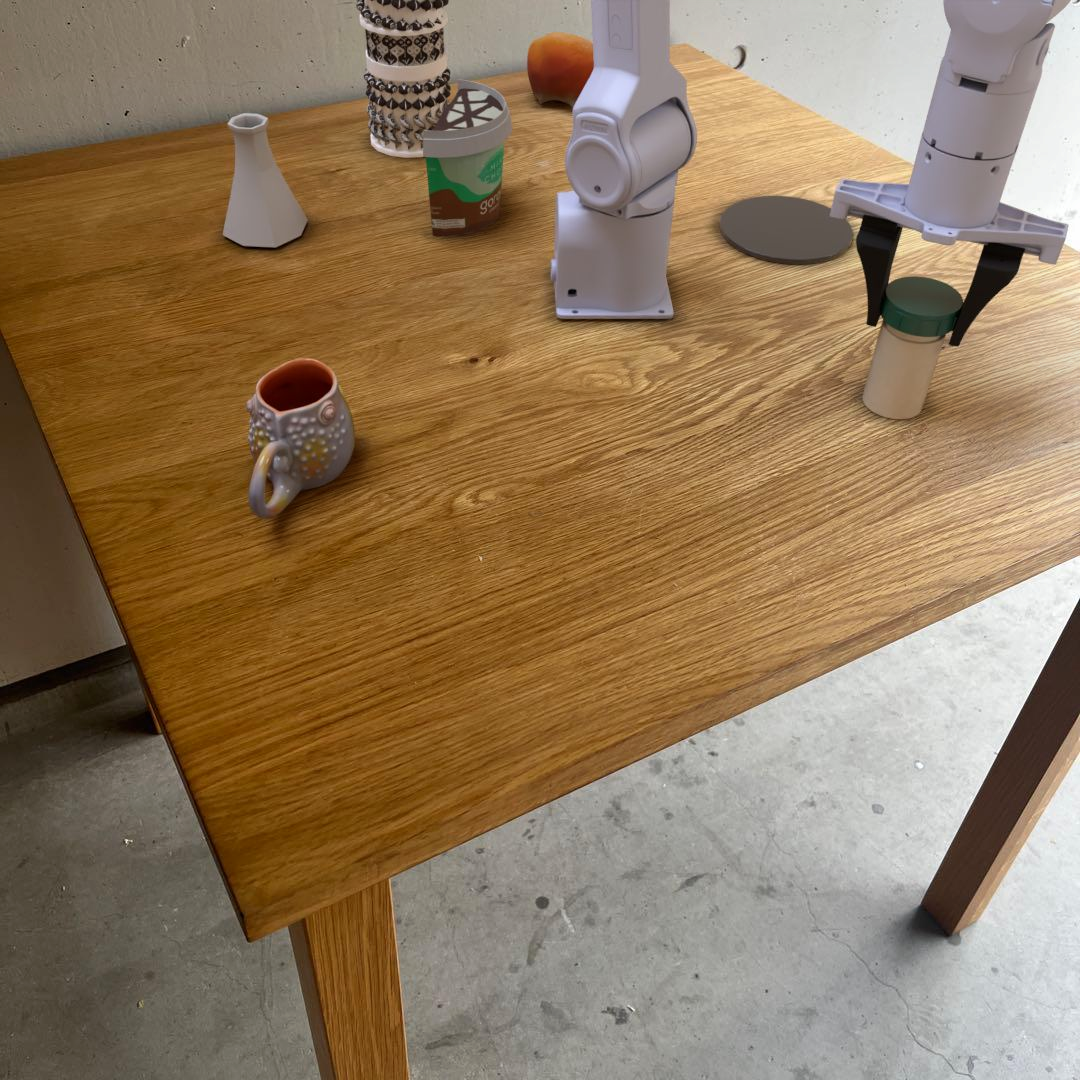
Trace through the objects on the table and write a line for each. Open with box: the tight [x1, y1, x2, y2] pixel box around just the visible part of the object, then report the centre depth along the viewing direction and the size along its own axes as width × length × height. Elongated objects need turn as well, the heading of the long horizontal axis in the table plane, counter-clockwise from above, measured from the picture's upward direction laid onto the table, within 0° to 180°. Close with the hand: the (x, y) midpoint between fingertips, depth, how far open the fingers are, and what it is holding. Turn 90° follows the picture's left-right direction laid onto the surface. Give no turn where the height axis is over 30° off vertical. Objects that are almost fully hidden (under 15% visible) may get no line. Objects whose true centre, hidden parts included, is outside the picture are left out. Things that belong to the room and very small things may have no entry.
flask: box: [222, 112, 309, 248], centre depth 95 cm, size 7×7×10 cm
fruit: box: [526, 31, 594, 109], centre depth 119 cm, size 8×8×8 cm
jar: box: [861, 319, 947, 420], centre depth 79 cm, size 4×4×8 cm
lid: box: [880, 275, 964, 337], centre depth 76 cm, size 5×5×2 cm
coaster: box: [718, 195, 854, 265], centre depth 100 cm, size 12×12×1 cm
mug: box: [245, 357, 356, 520], centre depth 71 cm, size 12×7×7 cm, turn 167°
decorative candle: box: [356, 0, 452, 159], centre depth 104 cm, size 9×9×25 cm
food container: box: [422, 78, 513, 237], centre depth 98 cm, size 12×6×10 cm, turn 168°
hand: (913, 328), depth 77 cm, fingers closed on lid, 5 cm apart
